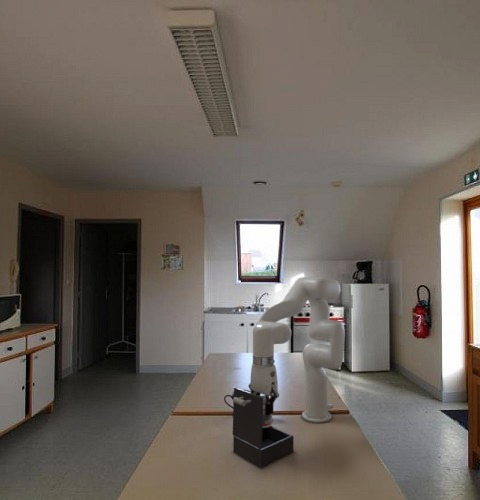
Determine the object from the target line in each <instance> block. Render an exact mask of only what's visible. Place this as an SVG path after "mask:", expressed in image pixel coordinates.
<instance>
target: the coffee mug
mask: <svg viewBox="0 0 480 500" xmlns="http://www.w3.org/2000/svg"><path fill="white" fill-rule="evenodd" d="M241 389H242V388H241ZM242 390H244V391H247V392H250V393H251V390H250V389H245V388H244V389H242ZM227 397H229V398H231V400H232V404H233V403H234V402H233V398H234V390H232V392H231V394H226V395H225V396H224V397H223V401H224V403H225V404H226V405H227V406H228V407H230V408H231V409H233V406H232V405H231V404H229V403H228V402H227V400H226V399H227Z"/></svg>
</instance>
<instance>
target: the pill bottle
mask: <svg viewBox="0 0 480 500" xmlns="http://www.w3.org/2000/svg"><path fill="white" fill-rule="evenodd" d="M260 397H263V426H262V428H267V427H269V426H272V421H271V414H270V415H268V416H267V415H266V414H265V404H266V403H267V402H266V397H265V396H264V395H260Z"/></svg>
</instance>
